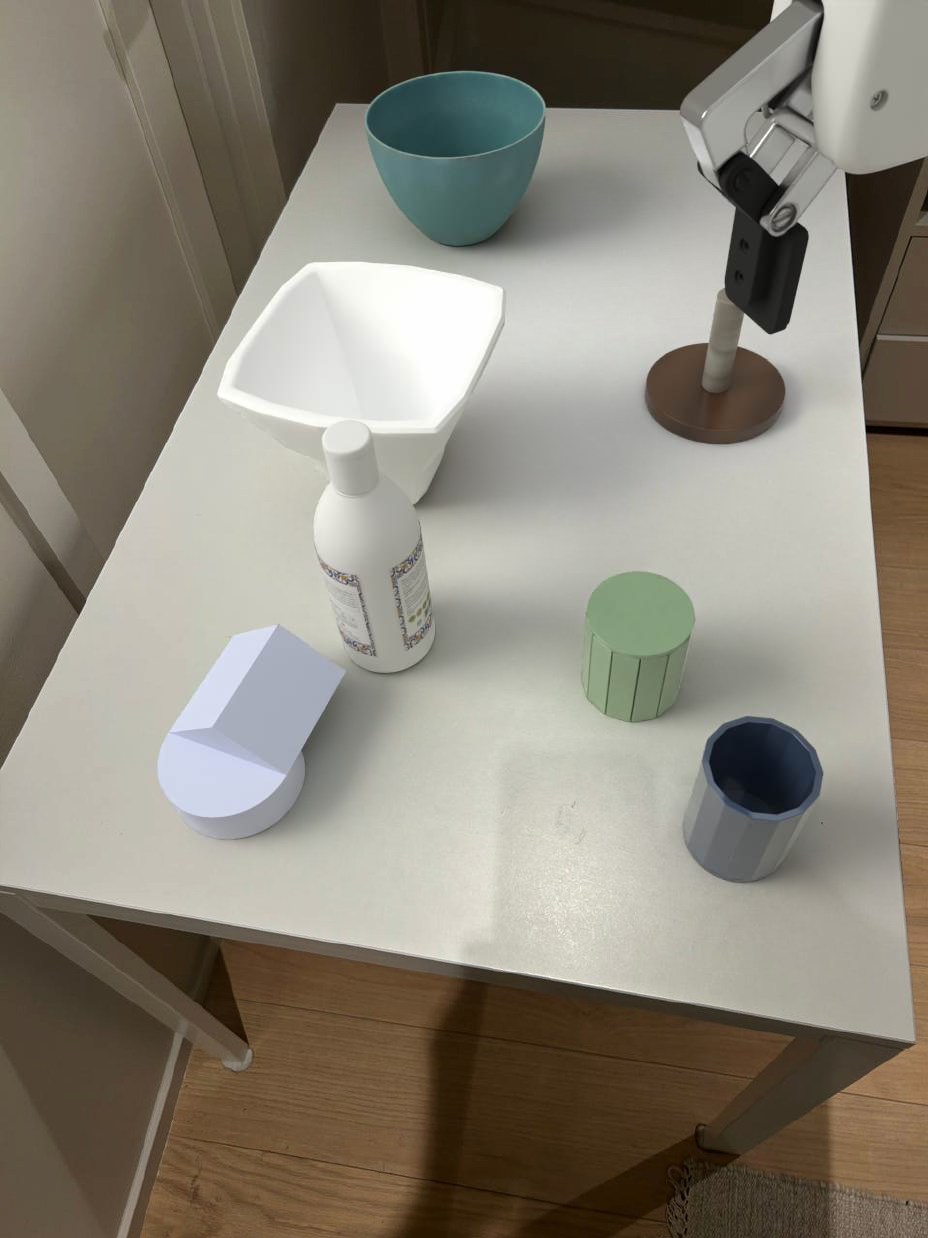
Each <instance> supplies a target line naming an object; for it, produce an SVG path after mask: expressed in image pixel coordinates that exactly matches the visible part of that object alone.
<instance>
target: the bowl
mask: <svg viewBox="0 0 928 1238" xmlns="http://www.w3.org/2000/svg"><path fill="white" fill-rule="evenodd" d="M506 302H507V290H506V289H504V288H503V287H501V286H499V285H495V284H493V283H489V282H485V281H482V280H479V279H475V278H473V277H469V276H466V275H462V274H457V273H451V272H446V271H440V270H435V269H430V268H424V267H419V266H414V265H407V264H397V263H395V264H394V263H393V264H392V263H381V262H379V263H378V262H366V261H321V262H320V261H317V262H315V261H313V262H309V263H307V264H306V265H305V266H303V268H301V269H300V270H299V271H297V272H296V274H294V275H293V276H292V277H291V278H289V279H288V280H287V281H286V282H285V283H283V284H282V285H281V286H280V287H279V289H278V290H277V292H276V293H275V294H274V296H273V297H272V298H271V299H270V301H269V303H267V305H266V306H265V307H264V309H263V311H262V312H261V313H260V315H259V316H258V317H257V319H256V320H255V321H254V323H253V324H252V326H251V327H250V328H249V330H248V331H247V333H246V334H245V336H244V337H243V339H242V340H241V342H240V343H239V344H238V346H237V347H236V348H235V350H234V352H233V353H232V355H231V356H230V358H229V359H228V360H227V362H226V366H225V369H224V371H223V374H222V376H221V377H222V378H221V381H220V385H219V386H218V390H217V397H218V400H219V401H220V402H221V403H223V404H224V405H226V406H227V407H229V408H230V409H231V410H233V411H234V412H235V413H237V414H239V415H240V416H242V417H243V418H244V419H246V421H249V422H250V423H251V424H253V425H254V426H255V427H257V428H258V429H259V430H261V431H262V432H264V433H265V434H267V435H268V436H270V438H272V439H274V440H275V441H277V442H278V443H280V444H281V445H282V446H284V447H285V448H287V449H289V450H292V451H294V452H296V453H299V454H302V455H304V456H306V457H308V458H309V459H310V460H311V462H312V464H313V465H314V466H315V467H316V468H317V470H318V471H319V472H320V474H321V475H322V476H323V478H324V479H325V480H326V482H327V483H328V484H329V483H330V481H331V478H330V474H329V470H328V466H327V462H326V458H325V454H324V450H323V446H322V436H323V434H324V432H325V431H326V429H327V428H328V427H330V426H331V425H333V424H335V423H337V422H340V421H344V420H355V421H359V422H362V423H364V424H365V425H366V426H368V428H369V429H370V431H371V434H372V438H373V443H374V449H375V454H376V460H377V465H378V471H379V472H381V473H382V474H384V475H385V476H387V477H388V478H390V479H391V480H393V481H394V482H395V483H396V484H397V485H398V486H400V488H401V489H402V490H403V491H404V492H405V493H406V494H407V496H408V497H409V499H410V500H411V502H412V504H413V505H416V504H417V503H418V502H419V501H420V500H421V498H422V497H423V496H424V495H425V493H427V491H428V489H429V487H430V485H431V483H432V481H433V479H434V477H435V476H436V475H435V474H436V473H437V470H438V468H439V467H440V464H441V461H442V459H443V457H444V455H445V451H446V450H445V449H446V446H447V442H448V441H449V439H450V437H451V435H452V433H453V432H454V430H455V428H456V426H457V424H458V423H459V421H460V419H461V417H462V415H463V413H464V412H465V410H466V408H467V407H468V405H469V403H470V400H471V397H473V394H474V392H475V390H476V387H477V386H478V384H479V381H480V379H481V377H482V375H483V373H484V371H485V369H486V368H487V365H488V363H489V361H490V358H491V356H492V354H493V351H494V349H495V347H496V345H497V343H498V340H499V337H500V335H501V333H502V331H503V329H504V326H505V323H506V321H505V320H506V305H507V303H506Z"/></svg>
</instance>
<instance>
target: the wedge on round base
mask: <svg viewBox="0 0 928 1238" xmlns="http://www.w3.org/2000/svg"><path fill="white" fill-rule="evenodd" d="M346 672H347V670H346V669H345V668H344V667H342V666H340V665H339V664H337V663H336V662H334V661H333V660H331V659H330V658H329V657H327V656H326V655H324V654H322V653H321V652H320V651H318V649H315V648H314V647H313V646H312V645H310V644H308V642H305V641H304V640H303V639H301V638H300V637H298V636H297V635H295V634H294V633H292V631H290V630H288V629H287V628H285V627H283V626H282V625H281V624H280V623H277V624H273V625H269V626H264V627H260V628H256V629H252V630H249V631H244V632H240V633H236V634H234V635H232V637H231V639H230V640H229V642H228V643H227V645H225V647H224V649H223V651H222V652H221V654H220V655H219V657H217V659H216V661H215V662H214V664H213V665H212V667H211V668H210V670H209V671H208V672H207V674H206V676H205V677H204V679H203V681H202V682H201V683H200V685H199V686H198V688H197V689H196V691H195V692H194V694H193V695H192V696H191V698H190V700H189V701H188V703H187V705H185V707H184V709H183V710H182V712H181V713H180V714H179V716H178V717H177V719H176V721H174V724H173V725H172V727H171V728H170V729H169V731H168V733H167V734H166V736H165V738H164V739H163V742H162V744H161V746H160V749H159V751H158V752H159V753H158V757H157V764H156V772H157V778H158V779H157V780H158V782H159V783H158V784H159V785H160V788H161V790H162V791H163V793H164V795H165V796H166V798H167V799H168V800H169V803H171V805H172V806H173V808H174V809H175V810H176V812H177V814H178V815H179V816H180V818H181V819H182V820H183V822H184V823H185V824H186V825H187V826H188V827H190V828H191V829H192V830H193V831H195V832H197V833H198V834H200V835H203V836H206V837H207V838H211V839H218V840H225V841H226V840H227V841H228V840H239V839H244V838H248V837H251V836H255V835H257V834H259V833H262V832H265V830H267V829H269V828H270V827H272V826H274V825H275V824H276V823H279V821H280V820H281V819H282V818H284V816H286V815H287V814H288V812H289V811H290V810H291V809H292V808H293V806H294V805H295V803H296V801H297V800H298V799H299V796H300V794H301V792H302V789H303V786H304V783H305V777H306V762H305V761H306V760H305V757H304V753H303V750H302V749H303V748H304V746H305V744H306V742H307V741H308V738H309V737H310V736H311V733H312V731H313V729H314V728H315V726H316V725H317V723H318V722H319V719H320V717H321V716H322V714H323V712H324V711H325V709H326V708H327V705H328V703H329V702H330V701H331V698H332V697H333V695H334V693H335V691H336V689H337V688H338V687H339V684H340V682H341V681H342V679H343V677H344V675H345V674H346Z"/></svg>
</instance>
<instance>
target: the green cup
mask: <svg viewBox="0 0 928 1238" xmlns="http://www.w3.org/2000/svg"><path fill="white" fill-rule="evenodd" d="M585 610H586V611H585V617H584V618H585V619H584V629H583V630H584V633H583V643H582V644H583V646H582V648H583V649H582V657H581V658H582V659H581V671H580V672H581V673H580V679H581V682H582V683H581V684H582V686H583V690H584V694H585V697H586V698H587V700H588V701H589V702H590V703H591V704H592V705H593V706H594V707H596V708H597V710H598V711H600V712H601V713H602V714H603V715H605V716H607V717H610V718H614V719H617V720H621V721H624V722H627V723H630V722H631V723H636V722H637V723H638V722H643V721H648V720H653V719H656V718H659V717H660V716H661V715H662V714H664V713H665V712H666V711H668V710H669V709H670V708H671V707H672V706H674V705H675V703H676V702H677V699H678V695H679V691H680V688H681V686H682V685H681V684H682V680H683V677H684V673H685V672H684V671H685V668H686V663H687V658H688V655H689V651H690V646H691V641H692V636H693V633H694V628H695V624H696V613H695V608H694V604H693V602H692V599H691V598H690V596H689V595H688V593H687V592H686V591H685V590H684V588H682V587H681V586H680V585H679V584H678V583H676V582H675V581H673V580H672V579H670V578H668V577H666V576H663V575H661V574H659V573H656V572H655V573H654V572H650V571H641V570H639V571H635V570H634V571H626V572H621V573H618V574H615V575H612V576H611V577H608V578H607V579H605V580H603V581H602V582H601V583H600V584H599V585H598V586H597V587H595V589H594V590H593V592H592V593H591V595H590V597H589V600H588V603H587V607H586V609H585Z"/></svg>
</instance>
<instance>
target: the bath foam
mask: <svg viewBox="0 0 928 1238" xmlns="http://www.w3.org/2000/svg"><path fill="white" fill-rule="evenodd" d="M322 446H323V450H324V454H325V458H326V462H327V466H328V470H329V474H330V478H331V481H330V483H328V484H327V486H326V488H325V489H324V491H323V492H322V494H321V496H320V497H319V500H318V502H317V505H316V508H315V509H314V510H315V511H314V515H313V523H312V525H313V526H312V527H313V528H312V530H313V532H312V533H313V543H314V549H315V552H316V557H317V559H318V563H319V567H320V570H321V573H322V576H323V577H322V578H323V581H324V584H325V587H326V592H327V595H328V598H329V601H330V605H331V608H332V612H333V615H334V618H335V622H336V626H337V630H338V632H339V634H340V635H339V636H340V638H341V641H342V645H343V648H344V650H345V653H346V654H347V656H348V657H349V658H350V659H351V660H352V662H354V663H355V664H356V665H357V666H358V667H361V668H362V669H364V670H367V671H370V672H374V673H379V674H390V673H398V672H401V671H404V670H406V669H408V668H411V667H413V666H414V665H417V664H418V663H419V662H420V661H421V660H423V658H424V657H426V655H427V654H428V653H429V651H430V649H432V646H433V643H434V640H435V635H436V634H435V633H436V628H435V627H436V626H435V618H434V610H433V603H432V597H431V590H430V589H431V588H430V581H429V575H428V569H427V563H426V562H427V561H426V554H425V549H424V542H423V534H422V527H421V523H420V520H419V516H418V514H417V511H416V508H415V506H414V504H412V502H411V500H410V499H409V497H408V496H407V494H406V493H405V492H404V491H403V490H402V489H401V488H400V486H398V485H397V484H396V483H395V482H394V481H393V480H391V479H390V478H388V477H387V476H385V475H384V474H382V473H381V472H379V471H378V465H377V460H376V454H375V449H374V443H373V438H372V434H371V431H370V429H369V428H368V426H366V425H365V424H364V423H362V422H359V421H355V420H344V421H340V422H337V423H335V424H333V425H331V426H330V427H328V428H327V429H326V431H325V432H324V434H323V436H322Z"/></svg>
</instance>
